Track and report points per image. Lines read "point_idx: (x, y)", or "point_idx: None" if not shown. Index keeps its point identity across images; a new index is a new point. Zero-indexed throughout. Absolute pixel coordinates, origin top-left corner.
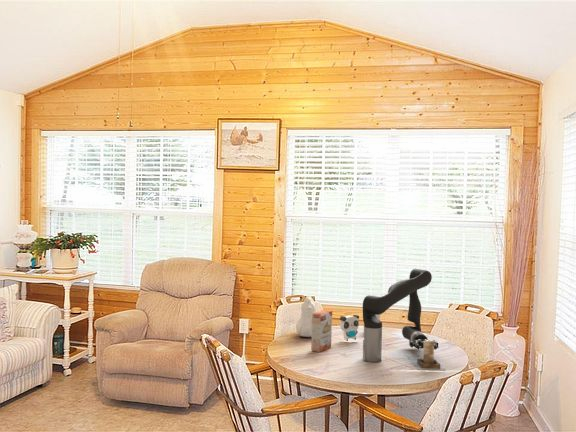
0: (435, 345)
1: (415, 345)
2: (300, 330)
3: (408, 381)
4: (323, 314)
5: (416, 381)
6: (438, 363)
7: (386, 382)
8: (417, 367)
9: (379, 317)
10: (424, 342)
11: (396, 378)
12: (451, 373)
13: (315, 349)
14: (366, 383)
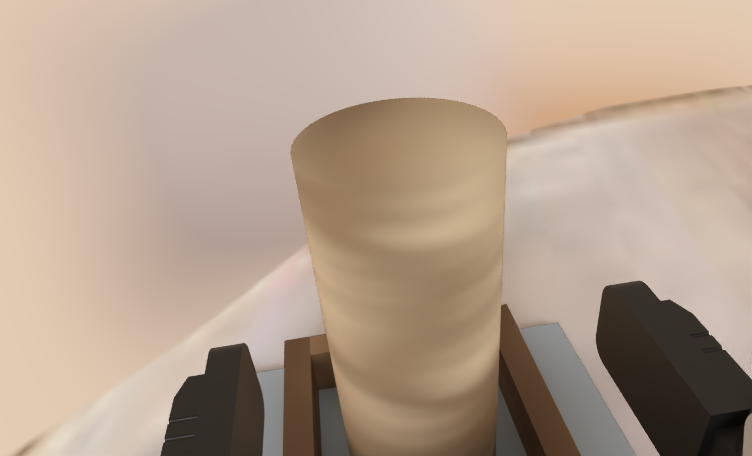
0: (226, 347)
1: (727, 373)
2: None
3: (574, 146)
4: None
5: (524, 154)
6: (295, 368)
7: (699, 115)
8: (560, 353)
9: None
10: (486, 119)
11: (669, 162)
12: (217, 324)
13: None
14: None
